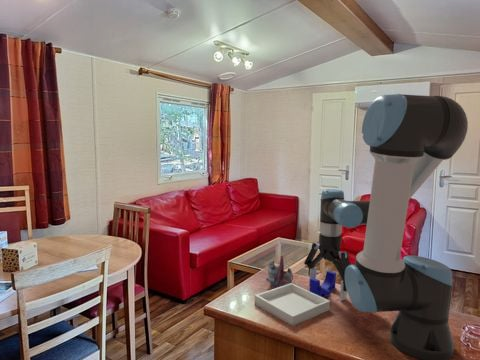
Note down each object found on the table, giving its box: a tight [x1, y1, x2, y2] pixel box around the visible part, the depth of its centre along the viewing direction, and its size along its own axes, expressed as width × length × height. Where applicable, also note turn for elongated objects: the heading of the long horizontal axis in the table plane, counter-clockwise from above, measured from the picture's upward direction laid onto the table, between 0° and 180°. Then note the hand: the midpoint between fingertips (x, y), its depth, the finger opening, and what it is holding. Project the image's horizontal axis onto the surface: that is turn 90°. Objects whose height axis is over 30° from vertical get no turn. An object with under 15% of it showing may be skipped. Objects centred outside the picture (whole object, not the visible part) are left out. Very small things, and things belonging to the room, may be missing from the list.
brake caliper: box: [265, 254, 294, 288], centre depth 132 cm, size 11×11×12 cm
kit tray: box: [254, 282, 331, 327], centre depth 114 cm, size 17×17×3 cm
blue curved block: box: [309, 270, 337, 298], centre depth 125 cm, size 12×4×6 cm, turn 134°
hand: (327, 292), depth 125 cm, fingers open, 13 cm apart
